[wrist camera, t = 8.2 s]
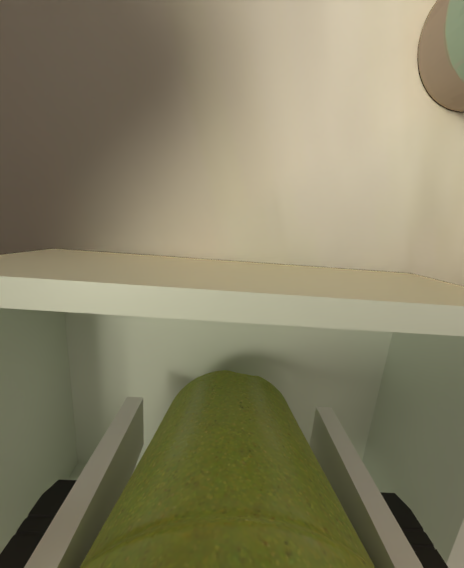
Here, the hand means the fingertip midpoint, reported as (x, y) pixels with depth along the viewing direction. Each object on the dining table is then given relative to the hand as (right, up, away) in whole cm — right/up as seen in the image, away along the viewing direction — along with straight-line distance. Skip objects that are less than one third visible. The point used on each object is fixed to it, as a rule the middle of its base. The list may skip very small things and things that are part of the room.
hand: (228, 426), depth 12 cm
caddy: (0, +1, +4) cm, 4 cm away
